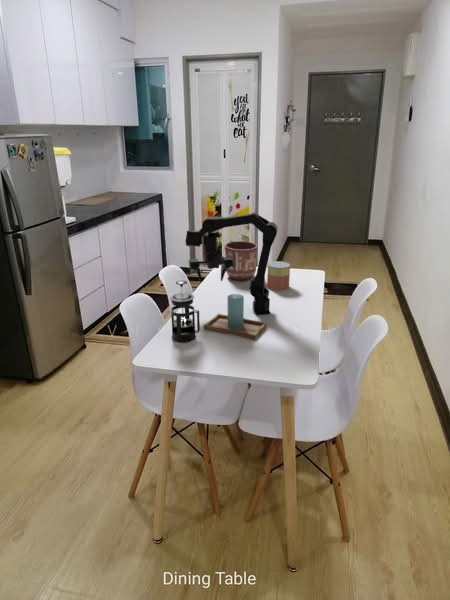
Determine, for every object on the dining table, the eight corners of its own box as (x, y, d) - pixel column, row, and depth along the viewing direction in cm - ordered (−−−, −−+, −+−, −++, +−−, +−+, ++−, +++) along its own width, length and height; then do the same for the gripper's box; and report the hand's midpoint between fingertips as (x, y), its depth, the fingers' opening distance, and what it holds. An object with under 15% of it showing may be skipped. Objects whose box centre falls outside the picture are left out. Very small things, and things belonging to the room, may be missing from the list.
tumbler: (241, 322, 180) (241, 293, 175) (245, 329, 174) (245, 299, 169) (225, 324, 179) (225, 294, 174) (229, 330, 173) (229, 300, 168)
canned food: (276, 281, 229) (276, 260, 225) (293, 286, 222) (294, 264, 217) (262, 287, 222) (263, 264, 217) (280, 292, 214) (281, 269, 210)
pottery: (219, 280, 232) (219, 247, 225) (230, 270, 247) (230, 239, 240) (251, 284, 226) (252, 251, 219) (260, 274, 241) (261, 242, 234)
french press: (166, 340, 167) (162, 284, 158) (175, 330, 175) (172, 276, 166) (195, 344, 164) (193, 287, 155) (203, 334, 172) (201, 279, 163)
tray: (218, 317, 187) (218, 313, 186) (266, 326, 178) (266, 322, 177) (204, 329, 176) (203, 325, 175) (254, 339, 167) (254, 335, 166)
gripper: (191, 253, 176) (192, 289, 182) (236, 250, 179) (235, 286, 185) (187, 246, 186) (189, 280, 192) (230, 244, 190) (230, 277, 195)
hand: (211, 281), depth 191 cm, fingers open, 9 cm apart
